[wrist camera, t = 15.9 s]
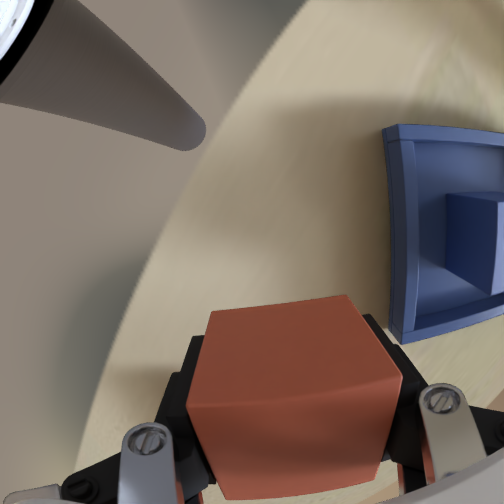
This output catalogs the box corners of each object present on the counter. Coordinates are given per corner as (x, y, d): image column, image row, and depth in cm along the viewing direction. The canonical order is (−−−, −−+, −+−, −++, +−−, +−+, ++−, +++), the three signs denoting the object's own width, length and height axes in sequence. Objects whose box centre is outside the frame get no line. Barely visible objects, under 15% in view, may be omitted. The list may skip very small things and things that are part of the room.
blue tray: (381, 129, 14) (397, 123, 12) (514, 139, 13) (533, 138, 11) (387, 329, 16) (400, 345, 14) (511, 296, 16) (526, 305, 14)
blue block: (445, 193, 14) (497, 201, 9) (494, 191, 14) (543, 199, 9) (444, 269, 15) (490, 296, 11) (492, 259, 15) (537, 280, 10)
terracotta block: (210, 310, 10) (183, 405, 5) (346, 293, 9) (404, 374, 5) (232, 407, 11) (225, 501, 6) (343, 393, 11) (375, 480, 6)
